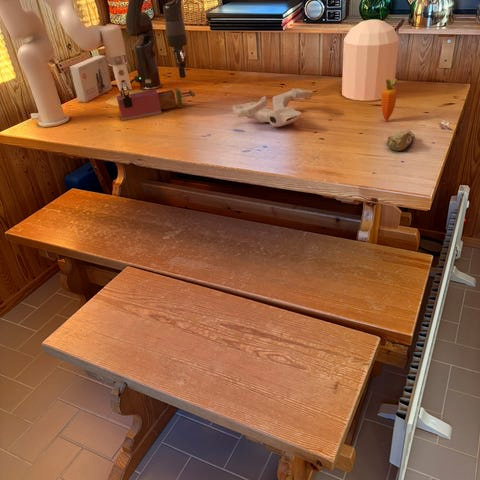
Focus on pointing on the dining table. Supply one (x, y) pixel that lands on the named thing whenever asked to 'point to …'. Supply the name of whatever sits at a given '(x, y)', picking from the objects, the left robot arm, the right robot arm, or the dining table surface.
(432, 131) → the dining table surface
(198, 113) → the dining table surface
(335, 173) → the dining table surface
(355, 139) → the dining table surface
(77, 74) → the skincare box
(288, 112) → the beige irregular branched piece
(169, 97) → the drawer
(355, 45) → the container
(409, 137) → the rock
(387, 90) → the carrot
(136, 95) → the cabinet
